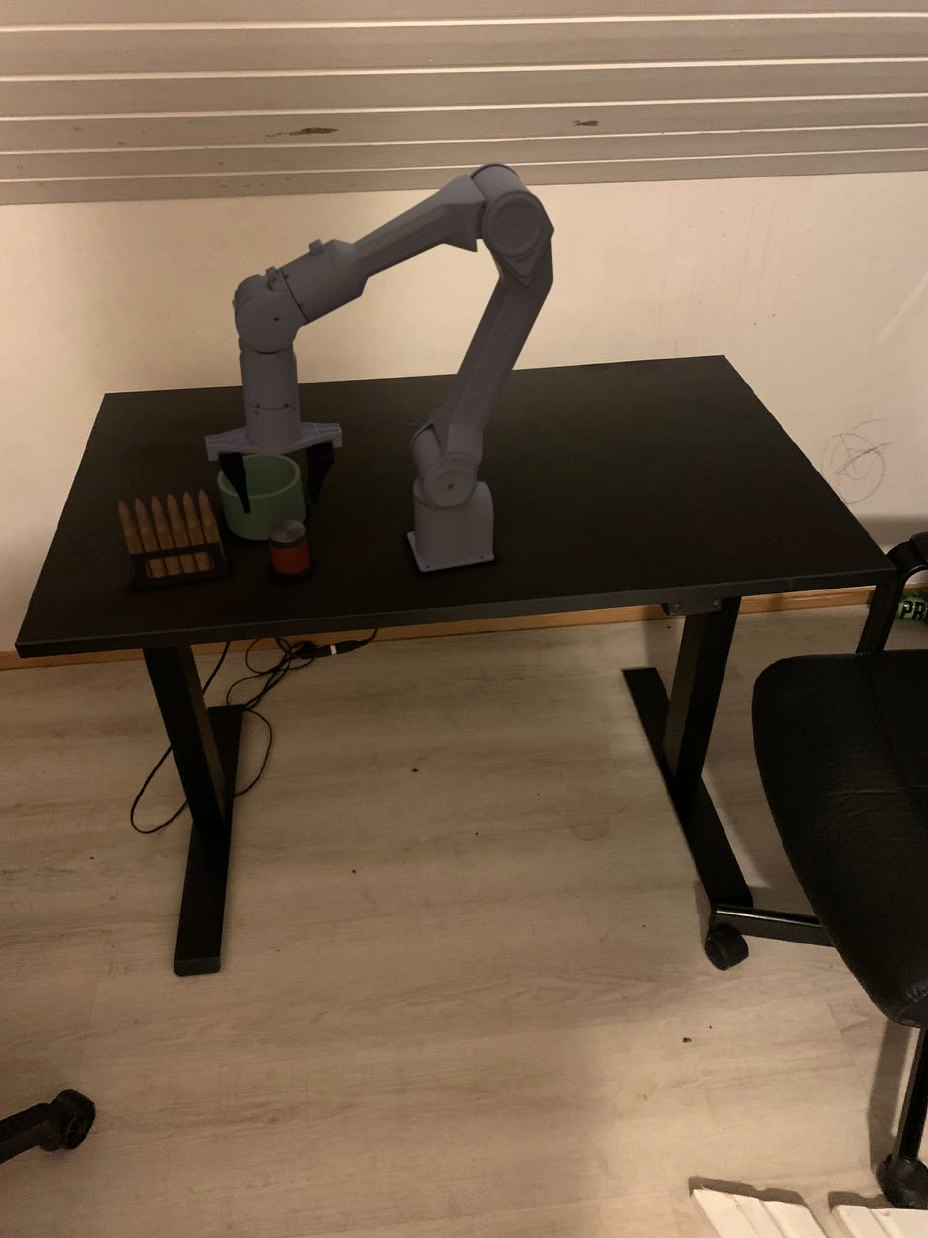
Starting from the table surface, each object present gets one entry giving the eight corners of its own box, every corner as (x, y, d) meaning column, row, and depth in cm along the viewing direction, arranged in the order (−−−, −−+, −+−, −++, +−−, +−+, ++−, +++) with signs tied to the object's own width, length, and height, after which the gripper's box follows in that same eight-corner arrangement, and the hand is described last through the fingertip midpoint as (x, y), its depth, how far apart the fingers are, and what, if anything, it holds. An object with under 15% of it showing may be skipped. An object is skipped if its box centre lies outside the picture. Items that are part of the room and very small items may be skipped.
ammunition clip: (228, 565, 107) (209, 484, 99) (229, 575, 106) (209, 493, 98) (138, 579, 105) (111, 497, 97) (138, 588, 104) (111, 506, 96)
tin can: (308, 555, 109) (302, 516, 105) (313, 577, 106) (307, 538, 101) (272, 561, 108) (265, 522, 104) (276, 583, 105) (269, 544, 101)
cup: (300, 489, 119) (294, 448, 115) (311, 533, 112) (305, 491, 108) (224, 500, 117) (214, 459, 113) (229, 546, 110) (219, 503, 106)
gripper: (331, 373, 96) (334, 478, 105) (195, 385, 92) (211, 493, 101) (345, 404, 91) (347, 511, 100) (203, 417, 87) (219, 527, 96)
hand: (280, 504), depth 100 cm, fingers open, 7 cm apart
